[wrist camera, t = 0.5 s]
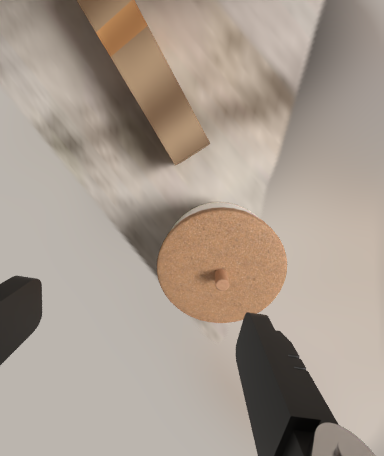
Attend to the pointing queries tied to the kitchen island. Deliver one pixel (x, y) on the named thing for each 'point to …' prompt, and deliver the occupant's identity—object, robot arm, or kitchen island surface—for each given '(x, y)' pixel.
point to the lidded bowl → (221, 263)
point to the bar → (147, 75)
